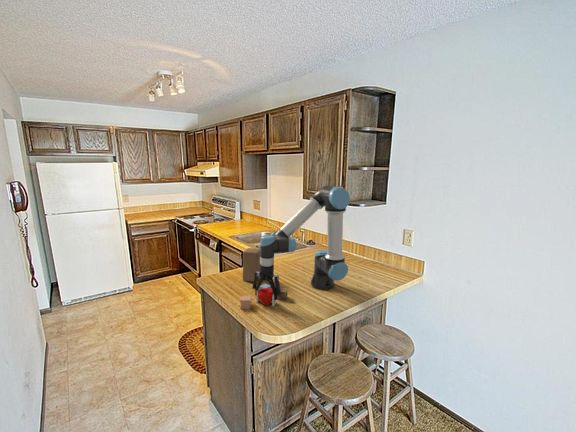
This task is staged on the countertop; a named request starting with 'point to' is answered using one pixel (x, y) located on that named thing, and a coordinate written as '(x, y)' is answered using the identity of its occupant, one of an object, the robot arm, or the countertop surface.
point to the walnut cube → (282, 294)
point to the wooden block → (251, 264)
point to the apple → (265, 295)
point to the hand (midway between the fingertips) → (265, 303)
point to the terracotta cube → (246, 302)
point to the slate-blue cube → (265, 286)
